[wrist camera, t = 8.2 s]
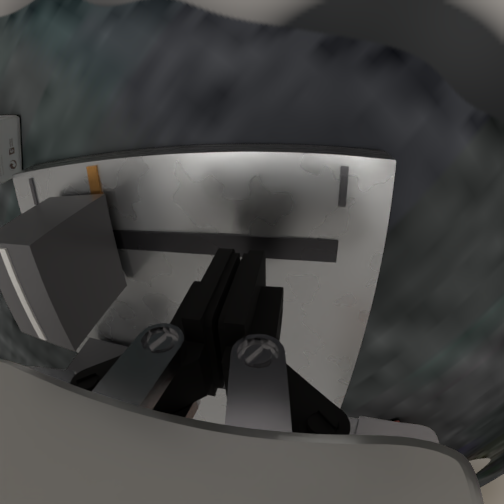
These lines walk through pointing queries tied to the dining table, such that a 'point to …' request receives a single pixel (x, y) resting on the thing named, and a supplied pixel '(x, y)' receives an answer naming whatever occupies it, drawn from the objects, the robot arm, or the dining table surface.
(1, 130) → the skincare box
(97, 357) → the fader
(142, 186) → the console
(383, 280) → the dining table surface
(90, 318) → the fader
